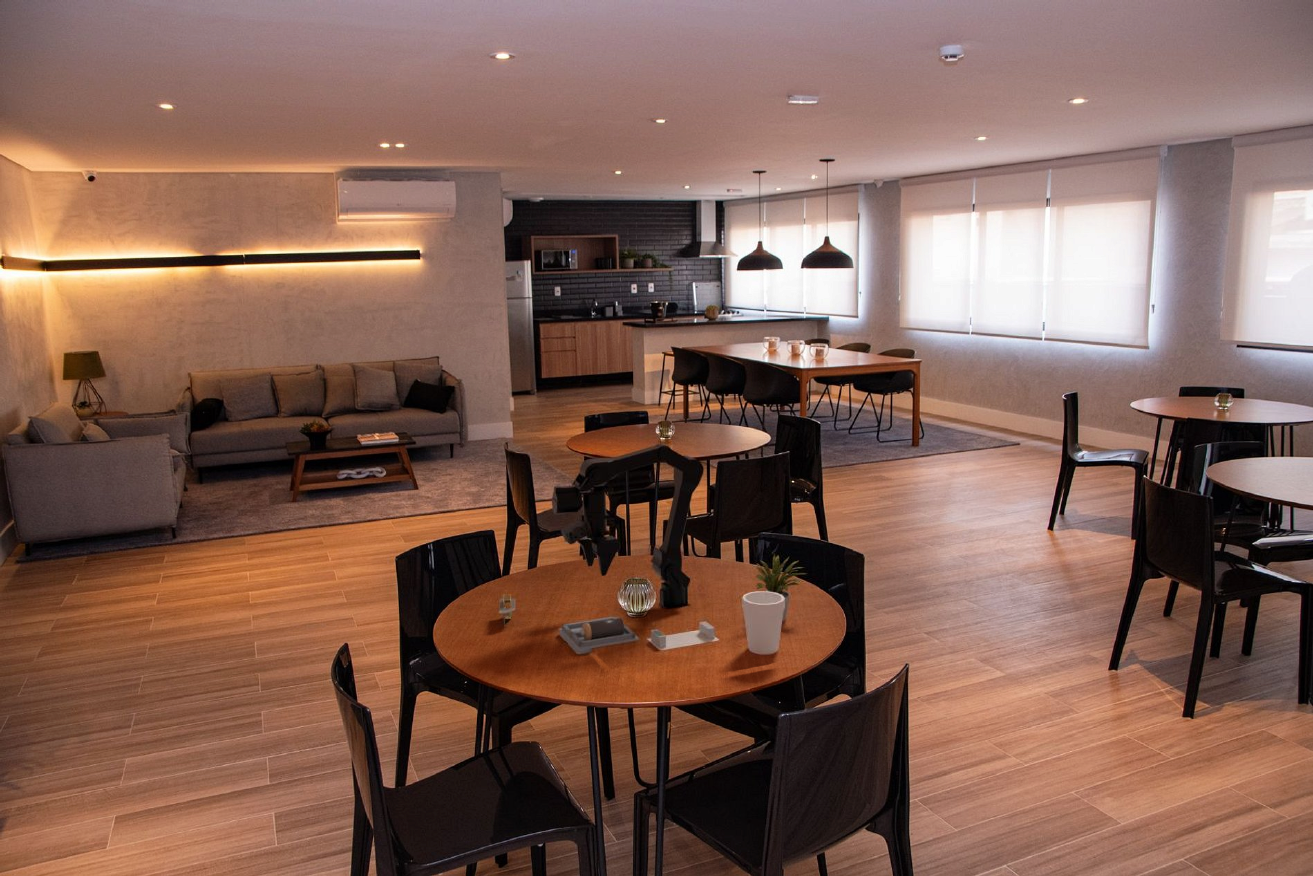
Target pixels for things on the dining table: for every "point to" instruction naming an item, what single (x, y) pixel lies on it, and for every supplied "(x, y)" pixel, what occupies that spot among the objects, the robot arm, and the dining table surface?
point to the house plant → (773, 582)
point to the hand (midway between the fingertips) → (596, 570)
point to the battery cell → (602, 629)
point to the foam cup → (763, 620)
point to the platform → (508, 610)
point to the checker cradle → (683, 637)
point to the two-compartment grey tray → (581, 646)
